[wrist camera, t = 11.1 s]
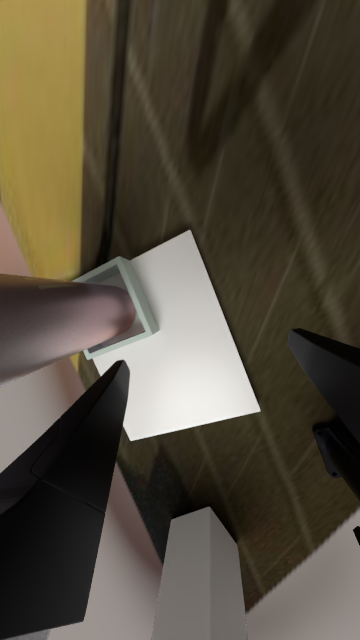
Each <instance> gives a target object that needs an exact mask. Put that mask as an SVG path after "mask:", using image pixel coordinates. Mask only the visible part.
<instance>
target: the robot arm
mask: <svg viewBox="0 0 360 640" xmlns="http://www.w3.org/2000/svg"><path fill="white" fill-rule="evenodd" d="M288 346H289V347H290V349H291V351H292V352H293V354H294V356H295V357H296V359H297V360H298V362H299V364H300V365H301V367H302V369H303V370H304V372H305V373H306V374H307V376H308V377H309V378H310V380H311V381H312V382H313V383H314V385H315V386H316V387H317V389H318V390H319V391H320V393H321V394H322V395H323V397H324V398H325V399H326V400H327V402H328V403H329V404H330V406H331V407H332V408H333V410H334V411H335V412H336V414H337V415H338V416H339V417H340V419H341V420H342V421H343V422H338V423H333V424H328V425H323V426H317V427H314V428H313V433H314V436H315V439H316V442H317V444H318V447H319V450H320V452H321V455H322V458H323V461H324V463H325V466H326V469H327V471H328V473H329V474H330V476H331V477H333V478H338V477H342V478H343V479H344V480H345V482H346V483H347V484H348V486H349V487H350V488H351V490H352V491H353V493H354V494H355V495H356V497H357V498H358V499H359V501H360V349H359V348H356V347H353V346H350V345H347V344H344V343H341V342H338V341H336V340H333V339H330V338H327V337H324V336H321V335H318V334H315V333H312V332H309V331H306V330H304V329H301V328H297V329H292V330H290V332H289V337H288ZM129 381H130V369H129V367H128V365H127V363H126V361H125V360H118V361H116V362H115V363H114V364H113V365H112V366H111V367H110V368H109V369H108V370H107V371H106V372H105V373H104V374H103V375H102V376H101V377H100V378H99V379H98V380H97V381H96V382H95V383H94V384H93V385H92V386H91V387H90V388H89V389H88V390H87V391H86V392H85V393H84V394H83V395H82V396H81V397H80V398H79V399H78V400H77V401H76V402H75V403H74V404H73V405H72V406H71V407H70V408H69V409H68V410H67V411H66V412H65V413H64V414H63V415H62V416H61V417H60V418H59V419H58V420H57V421H56V422H55V423H54V424H53V425H52V426H51V427H50V428H49V429H48V430H47V431H46V432H45V433H44V434H43V435H42V436H41V437H39V438H38V439H37V440H36V441H35V442H34V443H33V444H32V445H31V446H30V447H29V448H28V449H27V450H26V451H25V452H23V453H22V454H21V455H20V456H19V457H18V458H17V459H16V460H15V461H13V462H12V463H11V464H10V465H9V466H8V467H7V468H6V469H5V470H4V471H2V472H1V473H0V640H47V639H48V636H49V632H50V629H52V628H57V627H61V626H66V625H70V624H74V623H79V622H83V620H84V617H85V613H86V608H87V603H88V598H89V592H90V588H91V583H92V578H93V573H94V568H95V563H96V558H97V553H98V547H99V543H100V538H101V533H102V528H103V523H104V517H105V512H106V507H107V502H108V497H109V492H110V487H111V482H112V476H113V472H114V467H115V462H116V457H117V452H118V447H119V442H120V437H121V432H122V427H123V422H124V417H125V412H126V407H127V401H128V393H129ZM319 431H320V432H319ZM353 531H354V533H355V536H356V538H357V541H358V543H359V545H360V527H359V526H357V527H356V528H355V529H353Z"/></svg>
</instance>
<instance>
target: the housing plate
mask: <svg viewBox="0 0 360 640" xmlns="http://www.w3.org/2000/svg"><path fill="white" fill-rule="evenodd" d="M73 281H74V282H83V283H93V284H102V285H111V286H117V287H120V288H122V289H123V290H125V291H126V292H127V293H128V294H129V295H130V297H131V299H132V301H133V303H134V306H135V319H134V322H133V324H132V326H131V327H130V328H129V329H128V330H127V331H126V332H124V333H122V334H120V335H118V336H115V337H113V338H111V339H108V340H106V341H104V342H102V343H99V344H97V345H95V346H92V347H90V348H88V349H85V350H83V351H84V354H85V356H86V358H87V360H89V359H92V358H93V360H94V363H95V365H96V367H97V369H98V371H99V373H100V376H102V375H103V374H104V373H105V372H106V371H107V370H108V369H109V368H110V367H111V366H112V365H113V364H114V363H115V362H116V361H118V360H125V361H126V363H127V365H128V367H129V369H130V381H129V393H128V401H127V407H126V412H125V417H124V422H123V426H124V428H125V430H126V432H127V435H128V437H129V439H130V441H133V440H138V439H142V438H146V437H151V436H155V435H159V434H164V433H168V432H172V431H177V430H181V429H185V428H190V427H194V426H198V425H203V424H207V423H211V422H216V421H220V420H224V419H229V418H233V417H238V416H242V415H246V414H251V413H255V412H259V411H261V410H260V408H259V405H258V403H257V400H256V398H255V395H254V392H253V390H252V387H251V385H250V382H249V379H248V377H247V374H246V372H245V369H244V367H243V364H242V361H241V359H240V356H239V354H238V351H237V348H236V346H235V343H234V341H233V338H232V336H231V333H230V330H229V328H228V325H227V323H226V320H225V318H224V315H223V312H222V310H221V307H220V305H219V302H218V299H217V297H216V294H215V292H214V289H213V287H212V284H211V281H210V279H209V276H208V274H207V271H206V269H205V266H204V263H203V261H202V258H201V256H200V253H199V250H198V248H197V245H196V243H195V240H194V238H193V235H192V232H191V230H188V231H186V232H184V233H182V234H180V235H179V236H177V237H175V238H173V239H171V240H169V241H167V242H165V243H163V244H161V245H159V246H157V247H155V248H153V249H151V250H149V251H148V252H146V253H144V254H142V255H140V256H138V257H136V258H134V259H132V260H130V261H129V260H127V259H125V258H123V257H120V256H118V257H116V258H115V259H113V260H111V261H109V262H107V263H105V264H103V265H101V266H100V267H98V268H96V269H94V270H92V271H90V272H88V273H86V274H85V275H83V276H81V277H79V278H77V279H75V280H73Z"/></svg>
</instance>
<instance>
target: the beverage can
mask: <svg viewBox="0 0 360 640" xmlns="http://www.w3.org/2000/svg"><path fill="white" fill-rule="evenodd" d="M134 319H135V306H134V303H133V301H132V299H131V297H130V295H129V294H128V293H127V292H126V291H125V290H123V289H122V288H120V287H117V286H111V285H102V284H93V283H83V282H74V281H65V280H55V279H46V278H36V277H27V276H18V275H8V274H0V387H1V386H3V385H5V384H7V383H10V382H12V381H14V380H17V379H19V378H21V377H24V376H26V375H28V374H30V373H32V372H35V371H37V370H40V369H42V368H44V367H46V366H49V365H51V364H53V363H55V362H58V361H60V360H62V359H65V358H67V357H69V356H72V355H74V354H76V353H79V352H81V351H83V350H85V349H88V348H90V347H92V346H95V345H97V344H99V343H102V342H104V341H106V340H108V339H111V338H113V337H115V336H118V335H120V334H122V333H124V332H126V331H127V330H128V329H129V328H130V327H131V326H132V324H133V322H134Z"/></svg>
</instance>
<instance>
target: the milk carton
mask: <svg viewBox="0 0 360 640" xmlns="http://www.w3.org/2000/svg"><path fill="white" fill-rule="evenodd" d="M151 640H248V634H247V626H246V616H245V607H244V599H243V590H242V581H241V572H240V564H239V555H238V547H237V544H236V543H235V541H234V540H233V539H232V537H231V536H230V534H229V533H228V531H227V530H226V529H225V527H224V526H223V524H222V523H221V522H220V520H219V519H218V517H217V516H216V515H215V513H214V512H213V510H212V509H211V508H210V507H206V508H203V509H200V510H197V511H194V512H192V513H189V514H186V515H183V516H180V517H177V518H174V519H172V520H171V525H170V531H169V536H168V542H167V548H166V554H165V560H164V566H163V573H162V578H161V584H160V591H159V596H158V602H157V608H156V614H155V621H154V626H153V632H152V638H151Z"/></svg>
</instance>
